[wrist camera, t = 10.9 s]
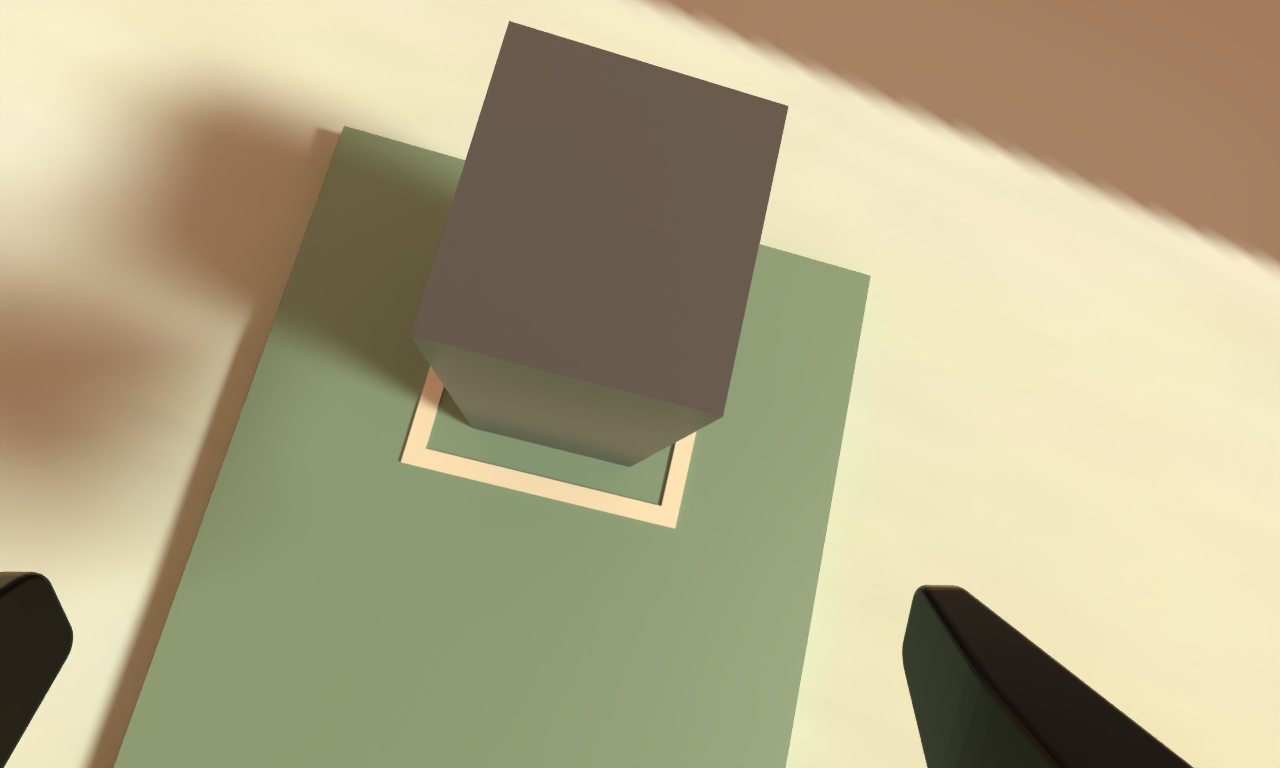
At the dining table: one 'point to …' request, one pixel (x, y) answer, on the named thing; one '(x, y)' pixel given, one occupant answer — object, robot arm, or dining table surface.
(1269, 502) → the dining table surface
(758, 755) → the board
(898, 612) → the dining table surface
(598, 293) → the plug block
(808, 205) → the dining table surface
